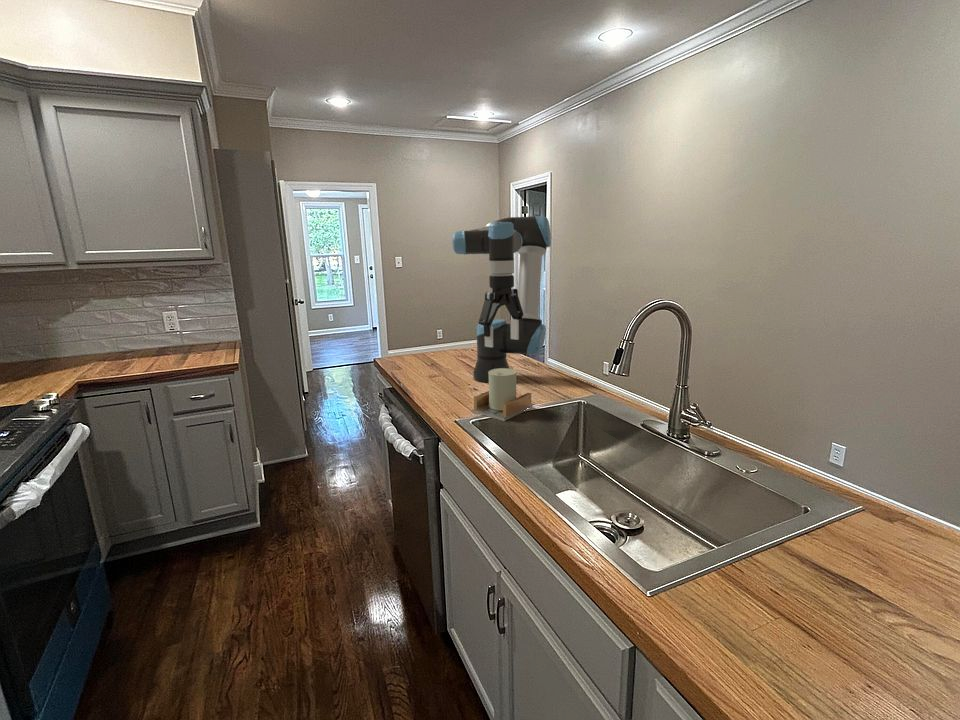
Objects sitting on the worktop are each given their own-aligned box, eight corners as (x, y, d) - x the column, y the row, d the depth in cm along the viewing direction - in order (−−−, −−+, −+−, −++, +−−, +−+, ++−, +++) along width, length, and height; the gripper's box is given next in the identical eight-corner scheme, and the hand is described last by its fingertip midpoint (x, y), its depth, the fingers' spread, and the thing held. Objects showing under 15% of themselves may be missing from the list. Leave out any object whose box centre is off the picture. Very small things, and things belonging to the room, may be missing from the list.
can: (483, 408, 154) (483, 372, 151) (496, 399, 162) (495, 365, 159) (509, 412, 150) (509, 375, 147) (521, 403, 157) (521, 368, 155)
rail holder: (501, 399, 166) (501, 385, 165) (532, 406, 158) (533, 392, 157) (471, 412, 154) (471, 397, 153) (504, 421, 146) (504, 405, 145)
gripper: (515, 271, 157) (515, 335, 162) (465, 277, 138) (467, 348, 144) (534, 272, 152) (533, 337, 158) (485, 278, 134) (487, 351, 139)
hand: (502, 342), depth 151 cm, fingers open, 13 cm apart
